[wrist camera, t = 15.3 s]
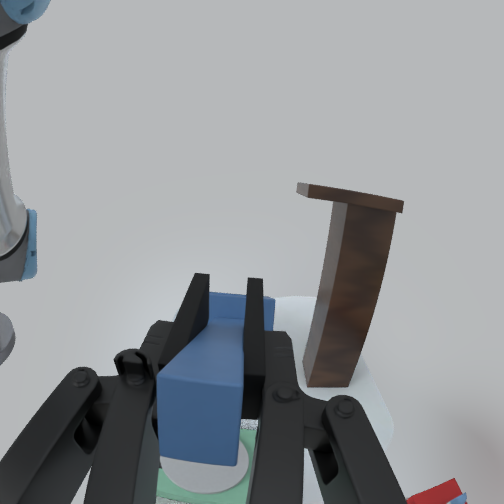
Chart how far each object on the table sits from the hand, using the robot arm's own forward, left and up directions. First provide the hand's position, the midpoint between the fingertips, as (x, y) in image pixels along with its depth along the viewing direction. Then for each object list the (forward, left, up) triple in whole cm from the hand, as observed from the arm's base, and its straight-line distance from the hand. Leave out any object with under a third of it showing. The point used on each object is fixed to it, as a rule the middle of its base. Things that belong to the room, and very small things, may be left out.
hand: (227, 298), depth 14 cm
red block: (+24, -8, -24) cm, 35 cm away
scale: (-2, +3, -24) cm, 24 cm away
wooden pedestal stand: (+12, +22, -24) cm, 35 cm away
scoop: (0, -1, -4) cm, 4 cm away
